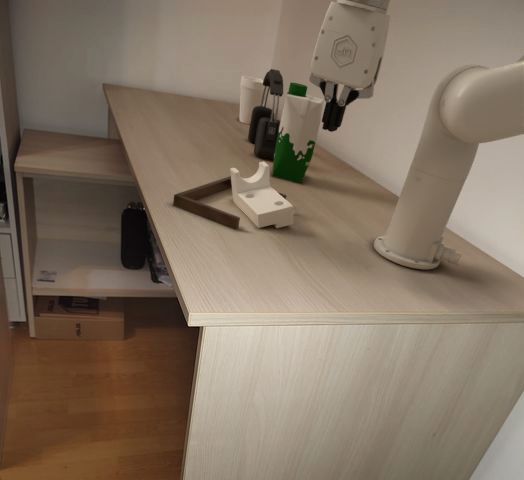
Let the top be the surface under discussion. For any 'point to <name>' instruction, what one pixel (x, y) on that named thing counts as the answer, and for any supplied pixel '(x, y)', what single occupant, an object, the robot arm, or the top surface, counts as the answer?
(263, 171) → the bracket
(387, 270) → the top surface
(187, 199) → the bay
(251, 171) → the top surface
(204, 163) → the top surface
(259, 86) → the foam cup
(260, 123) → the headphones
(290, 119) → the milk carton
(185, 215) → the top surface
